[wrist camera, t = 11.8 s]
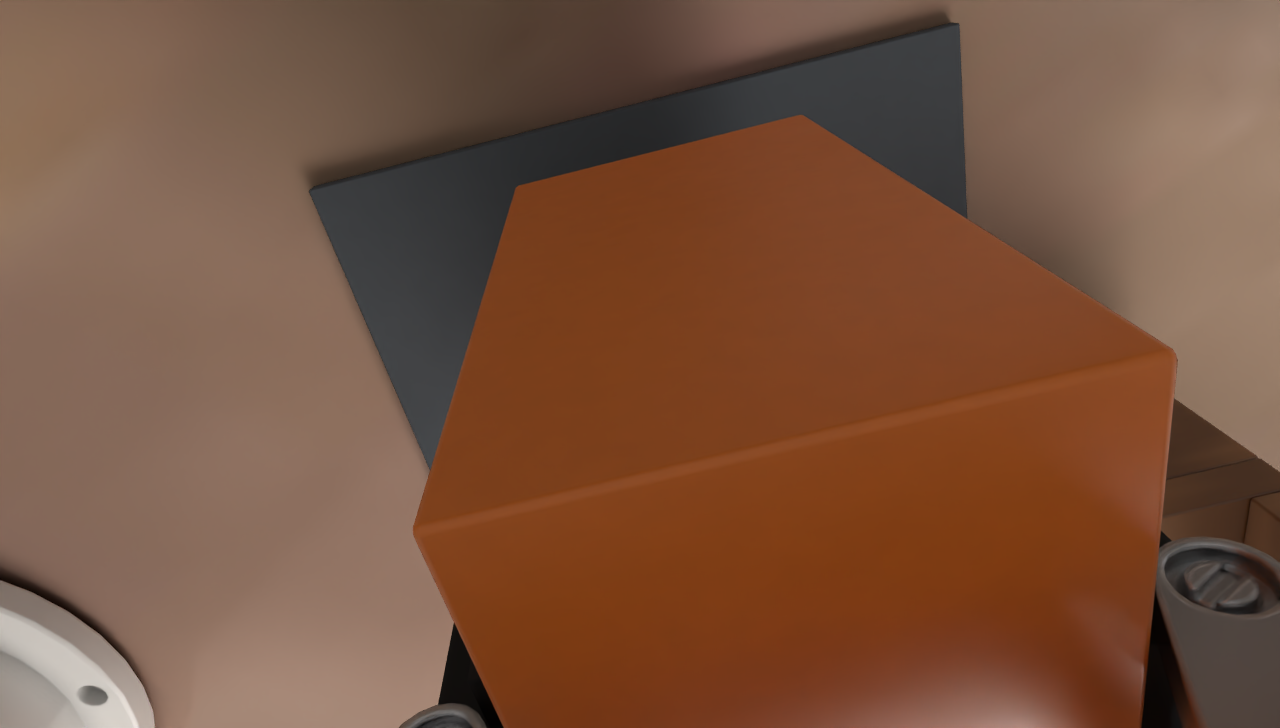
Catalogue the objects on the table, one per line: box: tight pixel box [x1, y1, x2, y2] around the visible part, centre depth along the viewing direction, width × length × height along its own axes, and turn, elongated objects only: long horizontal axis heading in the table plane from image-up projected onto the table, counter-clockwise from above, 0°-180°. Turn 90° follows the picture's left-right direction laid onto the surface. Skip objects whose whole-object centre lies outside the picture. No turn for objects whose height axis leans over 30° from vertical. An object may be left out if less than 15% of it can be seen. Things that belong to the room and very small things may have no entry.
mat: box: [309, 23, 967, 470], centre depth 21 cm, size 16×10×1 cm, turn 103°
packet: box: [413, 115, 1178, 728], centre depth 13 cm, size 6×9×11 cm, turn 13°
